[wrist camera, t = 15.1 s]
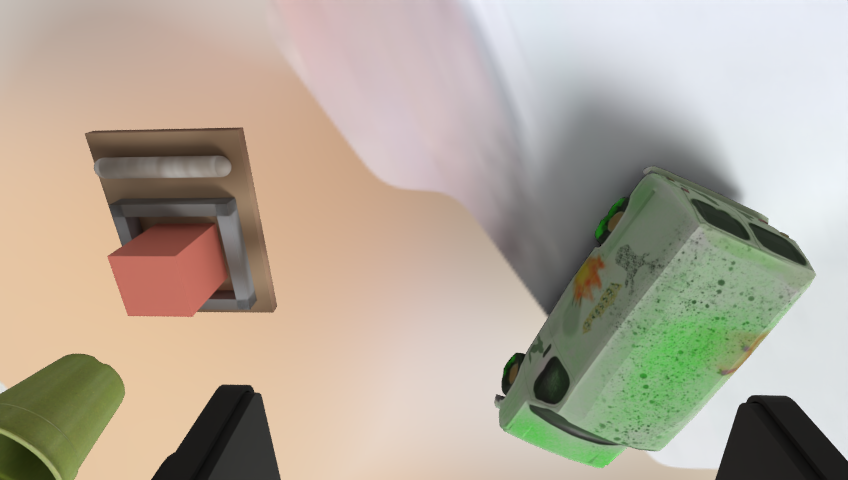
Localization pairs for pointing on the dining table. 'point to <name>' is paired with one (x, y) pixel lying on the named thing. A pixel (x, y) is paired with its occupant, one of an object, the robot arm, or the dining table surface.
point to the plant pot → (56, 418)
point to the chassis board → (190, 199)
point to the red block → (169, 269)
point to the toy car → (651, 322)
